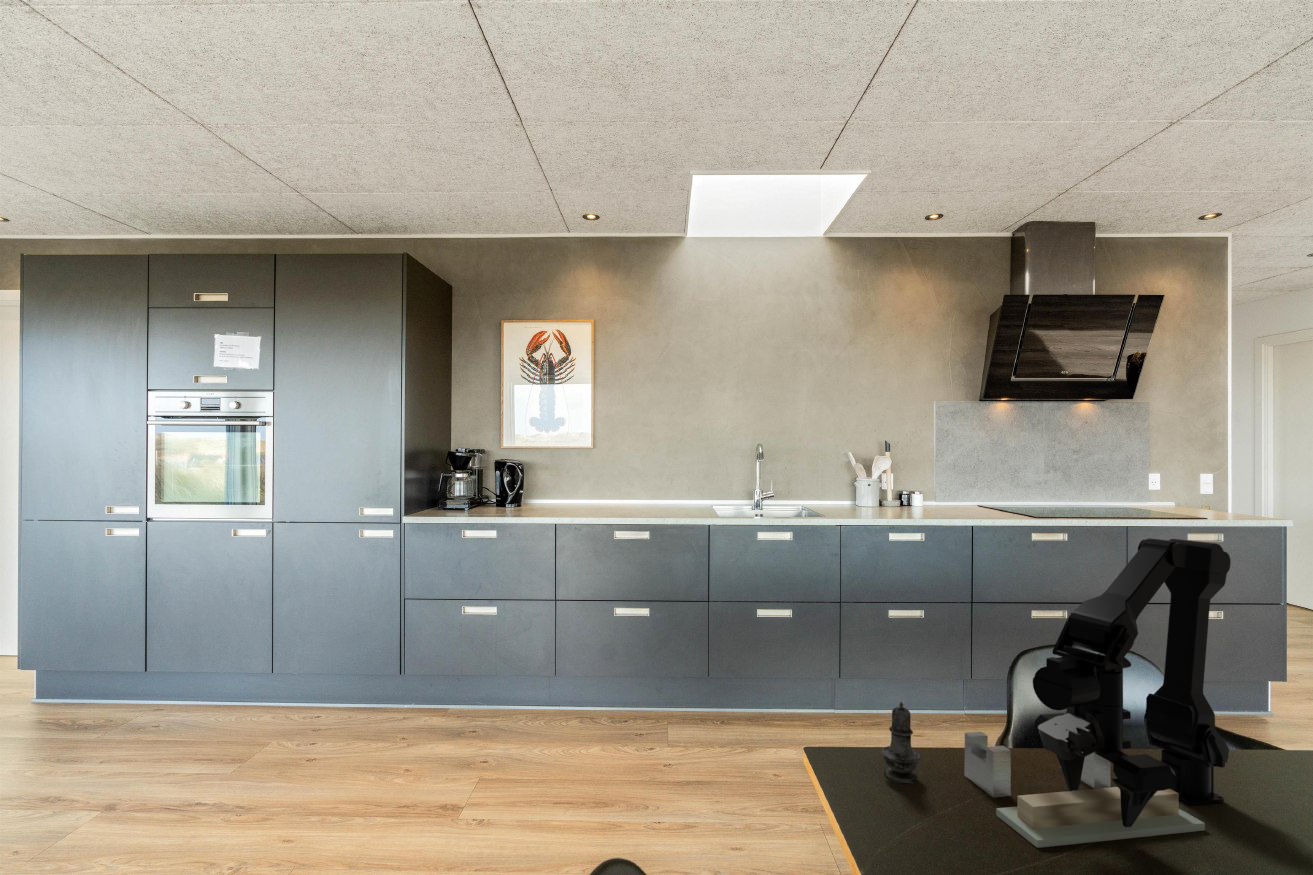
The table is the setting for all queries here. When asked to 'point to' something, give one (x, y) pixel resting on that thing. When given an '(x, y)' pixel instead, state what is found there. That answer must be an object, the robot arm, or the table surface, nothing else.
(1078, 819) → the birch rail
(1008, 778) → the steel stands
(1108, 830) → the sage board
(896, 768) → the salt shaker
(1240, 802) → the table surface
